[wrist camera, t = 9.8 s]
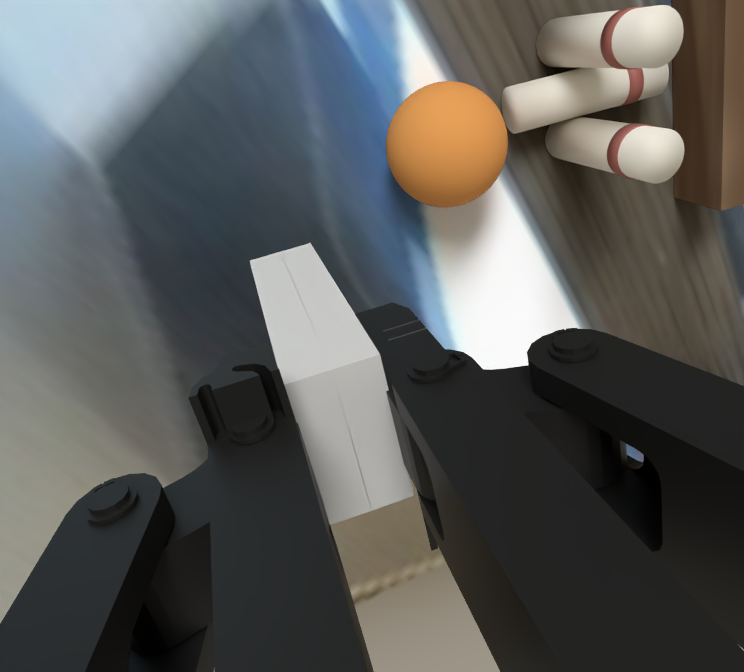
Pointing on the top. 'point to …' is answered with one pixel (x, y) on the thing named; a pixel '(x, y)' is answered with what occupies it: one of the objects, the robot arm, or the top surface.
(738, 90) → the wall
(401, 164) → the orange ball
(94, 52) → the top surface
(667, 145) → the pin
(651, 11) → the pin
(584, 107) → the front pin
